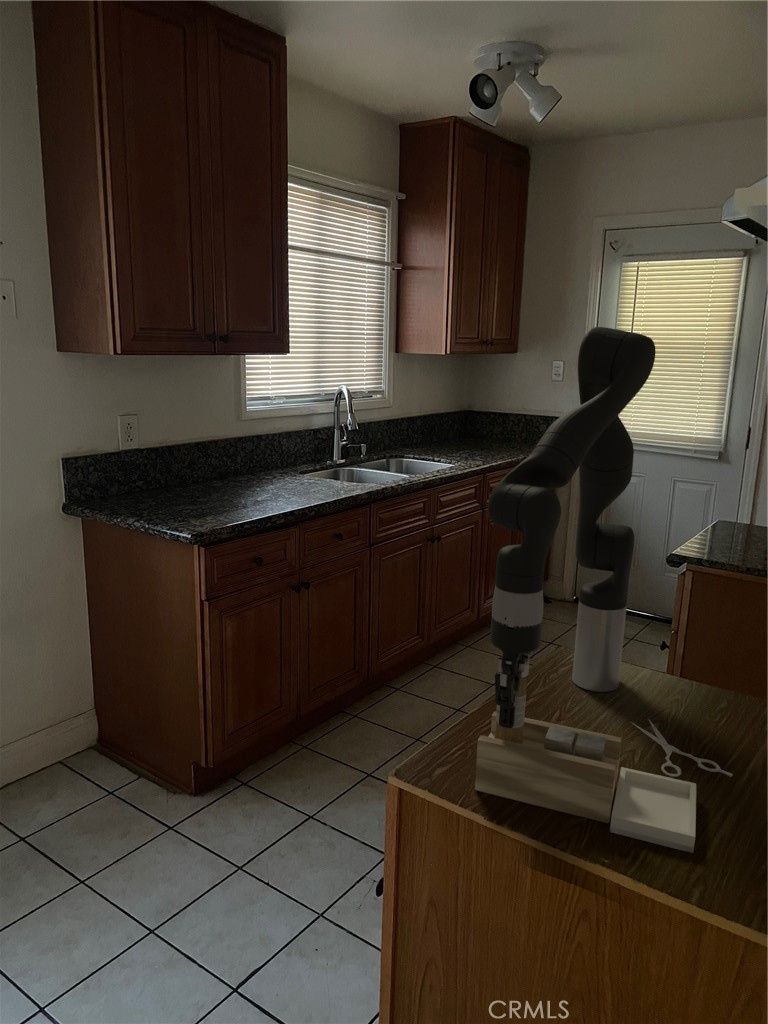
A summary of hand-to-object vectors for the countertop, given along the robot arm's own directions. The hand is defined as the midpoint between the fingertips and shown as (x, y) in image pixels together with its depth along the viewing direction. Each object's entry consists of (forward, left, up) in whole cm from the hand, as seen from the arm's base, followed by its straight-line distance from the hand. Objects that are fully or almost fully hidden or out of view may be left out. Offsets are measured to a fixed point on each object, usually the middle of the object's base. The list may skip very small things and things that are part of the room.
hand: (510, 718), depth 118 cm
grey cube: (0, +8, -5) cm, 9 cm away
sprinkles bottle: (0, 0, -4) cm, 4 cm away
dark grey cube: (0, +12, -5) cm, 13 cm away
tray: (0, +22, -10) cm, 24 cm away
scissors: (-21, +23, -11) cm, 34 cm away
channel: (0, +6, -10) cm, 12 cm away
